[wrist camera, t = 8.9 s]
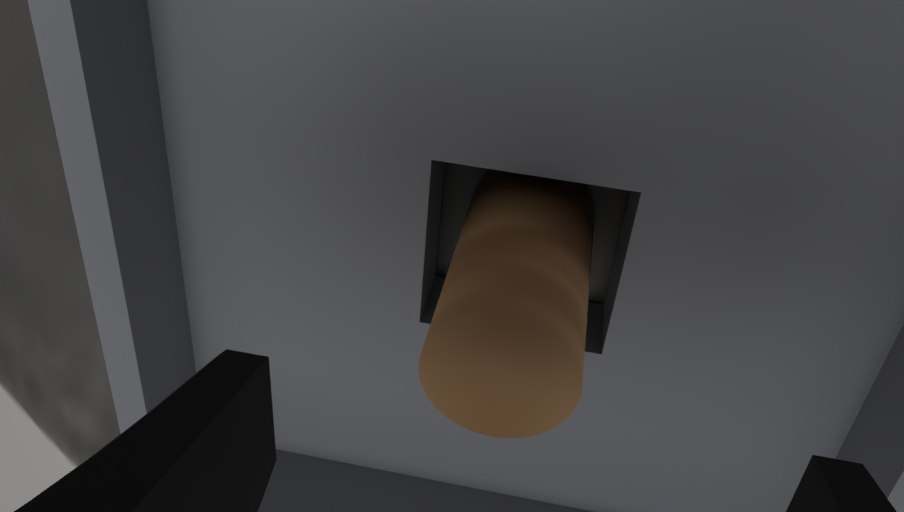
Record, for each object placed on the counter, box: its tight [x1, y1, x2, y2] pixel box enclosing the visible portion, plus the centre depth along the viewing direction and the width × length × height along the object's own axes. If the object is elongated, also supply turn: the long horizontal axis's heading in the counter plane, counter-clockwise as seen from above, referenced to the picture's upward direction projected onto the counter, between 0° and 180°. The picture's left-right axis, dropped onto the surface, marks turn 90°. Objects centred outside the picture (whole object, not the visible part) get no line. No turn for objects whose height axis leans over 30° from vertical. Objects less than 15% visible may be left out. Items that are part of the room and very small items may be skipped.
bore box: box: [28, 0, 904, 512], centre depth 18 cm, size 18×17×4 cm
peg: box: [419, 169, 594, 439], centre depth 17 cm, size 3×3×6 cm
